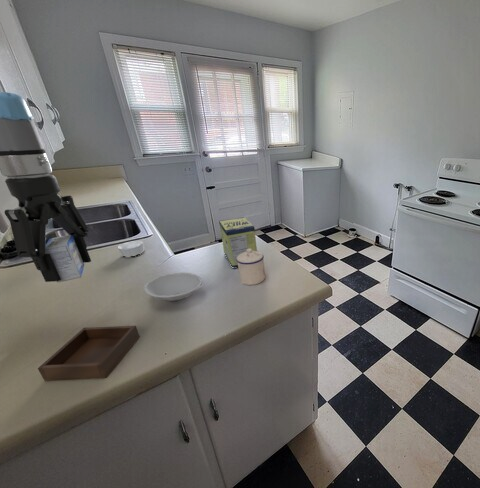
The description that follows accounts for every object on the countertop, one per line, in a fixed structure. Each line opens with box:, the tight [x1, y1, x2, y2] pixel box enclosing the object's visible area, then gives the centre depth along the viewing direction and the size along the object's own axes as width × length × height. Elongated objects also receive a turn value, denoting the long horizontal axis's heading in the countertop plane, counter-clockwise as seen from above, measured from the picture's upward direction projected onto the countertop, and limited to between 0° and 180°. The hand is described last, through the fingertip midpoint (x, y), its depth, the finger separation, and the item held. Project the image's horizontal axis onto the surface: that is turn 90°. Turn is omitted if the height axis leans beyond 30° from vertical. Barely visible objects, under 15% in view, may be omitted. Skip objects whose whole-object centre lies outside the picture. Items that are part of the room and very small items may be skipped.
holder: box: [37, 325, 141, 382], centre depth 63 cm, size 13×13×4 cm
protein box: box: [218, 216, 258, 268], centre depth 108 cm, size 10×16×16 cm
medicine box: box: [45, 234, 85, 283], centre depth 64 cm, size 8×4×9 cm, turn 35°
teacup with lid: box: [236, 249, 266, 286], centre depth 95 cm, size 12×9×12 cm
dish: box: [143, 272, 203, 302], centre depth 85 cm, size 18×14×5 cm
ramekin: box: [117, 240, 145, 257], centre depth 115 cm, size 9×9×4 cm
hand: (70, 270), depth 65 cm, fingers closed on medicine box, 9 cm apart
